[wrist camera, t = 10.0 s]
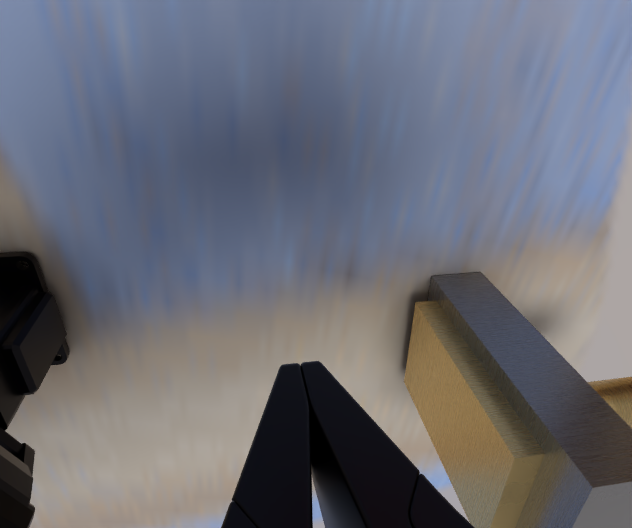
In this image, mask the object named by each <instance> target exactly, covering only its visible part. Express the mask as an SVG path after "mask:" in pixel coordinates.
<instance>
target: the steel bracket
mask: <svg viewBox="0 0 632 528" xmlns="http://www.w3.org/2000/svg"><path fill="white" fill-rule="evenodd" d="M435 300H436V301H437V302H438V304H439V305H440V307H441V308H442V309H443V311H444V312H445V314H446V315H447V316H448V318H449V319H450V321H451V322H452V323H453V325H454V326H455V328H456V329H457V331H458V332H459V333H460V335H461V336H462V338H463V339H464V340H465V342H466V343H467V345H468V346H469V347H470V349H471V350H472V352H473V353H474V354H475V356H476V357H477V359H478V360H479V361H480V363H481V364H482V366H483V367H484V368H485V370H486V371H487V373H488V374H489V376H490V377H491V378H492V380H493V381H494V383H495V384H496V385H497V387H498V388H499V390H500V391H501V392H502V394H503V395H504V397H505V398H506V399H507V401H508V402H509V404H510V405H511V406H512V408H513V409H514V411H515V412H516V413H517V415H518V416H519V418H520V419H521V420H522V422H523V423H524V425H525V426H526V428H527V429H528V430H529V432H530V433H531V435H532V436H533V437H534V439H535V440H536V442H537V443H538V444H539V446H540V447H541V449H542V450H543V451H544V453H545V456H544V458H543V461H542V463H541V466H540V468H539V470H538V473H537V475H536V478H535V480H534V483H533V485H532V488H531V490H530V493H529V495H528V497H527V500H526V502H525V505H524V507H523V510H522V512H521V515H520V517H519V520H518V522H517V525H516V527H515V528H632V428H631V427H630V426H629V425H628V424H627V423H626V422H625V421H624V420H623V419H622V418H621V417H620V416H619V415H618V414H617V413H616V412H615V411H614V410H613V409H612V408H611V406H610V405H609V404H608V403H607V402H606V401H605V400H604V399H603V398H602V397H601V396H600V395H599V394H598V393H597V392H596V391H595V390H594V389H593V388H592V387H591V386H590V385H589V384H588V383H587V382H586V381H585V380H584V379H583V377H582V376H581V375H580V374H579V373H578V372H577V371H576V370H575V369H574V368H573V367H572V366H571V365H570V364H569V363H568V362H567V361H566V360H565V359H564V358H563V357H562V356H561V355H560V354H559V353H558V352H557V351H556V350H555V348H554V347H553V346H552V345H551V344H550V343H549V342H548V341H547V340H546V339H545V338H544V337H543V336H542V335H541V334H540V333H539V332H538V331H537V330H536V329H535V328H534V327H533V326H532V325H531V324H530V323H529V322H528V320H527V319H526V318H525V317H524V316H523V315H522V314H521V313H520V312H519V311H518V310H517V309H516V308H515V307H514V306H513V305H512V304H511V303H510V302H509V301H508V300H507V299H506V298H505V297H504V296H503V295H502V294H501V293H500V291H499V290H498V289H497V288H496V287H495V286H494V285H493V284H492V283H491V282H490V281H489V280H488V279H487V278H486V277H485V276H484V275H483V274H482V273H481V272H475V273H462V274H450V275H438V276H432V277H431V283H430V289H429V295H428V301H435Z"/></svg>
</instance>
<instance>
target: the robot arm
mask: <svg viewBox="0 0 632 528" xmlns="http://www.w3.org/2000/svg"><path fill="white" fill-rule="evenodd" d="M20 261H24V262H26V263H27V264H28V266H24V265H22V264H21V263H20ZM66 335H67V333H66V330H65V327H64V324H63V321H62V318H61V315H60V313H59V310H58V307H57V304H56V301H55V298H54V296H53V295H52V294H51V293H50V292H48V289H47V287H46V284H45V281H44V278H43V275H42V272H41V269H40V267H39V264H38V261H37V259H36V258H35V257H34V256H33V255H32V254H30V253H27V252H14V253H0V528H29V527H30V524H31V522H32V520H33V517H34V512H35V507H34V506H33V505H32V504H30V499H31V491H32V483H33V477H32V474H33V464H34V454H35V451H34V450H33V449H32V448H31V447H30V446H28V445H27V444H26V443H23V444H21V443H20V442H18V441H17V440H16V439H15V438H13V437H12V436H11V435H9V434H8V433H7V432H5V430H6V429H7V428H8V426H9V424H10V422H11V421H12V419H13V417H14V415H15V413H16V412H17V410H18V408H19V406H20V404H21V403H22V401H23V399H24V397H25V395H31V394H34V393H35V392H36V391H37V390H38V389H39V387H40V385H41V383H42V381H43V379H44V377H45V375H46V373H47V371H48V370H49V368H50V366H51V365H59V364H63V363H64V362H66V360H67V358H68V356H69V349H68V346H67V343H66V341H65V337H66ZM56 354H60V355H61V356H57V355H56ZM311 473H312V476H311ZM419 473H420V472H419V470H418V469H417V468H416V467H415V466H414V464H413V463H412V462H411V461H410V460H409V459H408V458H407V457H406V456H405V455H404V453H403V452H402V451H401V450H400V449H399V448H398V447H397V446H396V445H395V444H394V442H393V441H392V440H391V439H390V438H389V437H388V436H387V435H386V434H385V433H384V431H383V430H382V429H381V428H380V427H379V426H378V425H377V424H376V423H375V422H374V420H373V419H372V418H371V417H370V416H369V415H368V414H367V413H366V412H365V411H364V410H363V408H362V407H361V406H360V405H359V404H358V403H357V402H356V401H355V400H354V399H353V397H352V396H351V395H350V394H349V393H348V392H347V391H346V390H345V389H344V388H343V386H342V385H341V384H340V383H339V382H338V381H337V380H336V379H335V378H334V377H333V375H332V374H331V373H330V372H329V371H328V370H327V369H326V368H325V367H324V366H323V364H322V363H321V362H319V361H313V362H303V363H302V364H301V365H299V364H298V363H293V364H284V365H281V367H280V368H279V371H278V374H277V377H276V379H275V382H274V385H273V388H272V390H271V393H270V396H269V399H268V401H267V404H266V407H265V410H264V412H263V415H262V418H261V421H260V423H259V426H258V429H257V432H256V434H255V437H254V440H253V443H252V445H251V448H250V451H249V454H248V456H247V459H246V462H245V465H244V467H243V470H242V473H241V476H240V478H239V481H238V484H237V487H236V489H235V492H234V495H233V498H232V502H231V503H230V505H229V508H228V511H227V513H226V516H225V519H224V522H223V524H222V527H221V528H313V523H312V478H313V482H314V486H315V490H316V493H317V497H318V501H319V505H320V509H321V513H322V517H323V521H324V524H325V528H475V527H474V526H473V525H471V524H470V523H469V522H468V521H467V520H466V519H465V518H464V517H463V516H462V515H461V514H459V512H458V511H456V509H455V508H454V507H453V506H452V505H451V504H450V503H449V502H448V501H447V500H446V499H445V498H444V497H443V496H442V495H441V494H440V493H439V492H438V491H437V490H436V489H435V487H434V486H433V485H432V484H431V483H430V482H429V481H428V480H427V479H426V477H425V476H424V475H423V474H420V475H419Z"/></svg>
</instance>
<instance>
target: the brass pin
mask: <svg viewBox="0 0 632 528" xmlns="http://www.w3.org/2000/svg"><path fill="white" fill-rule="evenodd" d="M404 382H405V385H406V387H407V389H408V391H409V393H410V395H411V397H412V400H413V402H414V404H415V406H416V408H417V410H418V413H419V415H420V417H421V419H422V421H423V423H424V425H425V428H426V430H427V432H428V434H429V436H430V438H431V440H432V443H433V445H434V447H435V449H436V451H437V453H438V455H439V458H440V460H441V462H442V464H443V466H444V468H445V471H446V473H447V475H448V477H449V479H450V481H451V483H452V486H453V488H454V490H455V492H456V494H457V496H458V498H459V501H460V503H461V505H462V507H463V509H464V511H465V513H466V516H467V517H468V520H469V522H470V524H471V525H473V526H474V527H475V528H515V527H516V525H517V522H518V520H519V517H520V515H521V512H522V510H523V507H524V505H525V502H526V500H527V497H528V495H529V493H530V490H531V488H532V485H533V483H534V480H535V478H536V475H537V473H538V470H539V468H540V466H541V463H542V461H543V458H544V456H545V453H544V451H543V450H542V449H541V447H540V446H539V444H538V443H537V442H536V440H535V439H534V437H533V436H532V435H531V433H530V432H529V430H528V429H527V428H526V426H525V425H524V423H523V422H522V420H521V419H520V418H519V416H518V415H517V413H516V412H515V411H514V409H513V408H512V406H511V405H510V404H509V402H508V401H507V399H506V398H505V397H504V395H503V394H502V392H501V391H500V390H499V388H498V387H497V385H496V384H495V383H494V381H493V380H492V378H491V377H490V376H489V374H488V373H487V371H486V370H485V368H484V367H483V366H482V364H481V363H480V361H479V360H478V359H477V357H476V356H475V354H474V353H473V352H472V350H471V349H470V347H469V346H468V345H467V343H466V342H465V340H464V339H463V338H462V336H461V335H460V333H459V332H458V331H457V329H456V328H455V326H454V325H453V323H452V322H451V321H450V319H449V318H448V316H447V315H446V314H445V312H444V311H443V309H442V308H441V307H440V305H439V304H438V302H437V301H436V300H435V301H424V302H416V303H415V310H414V317H413V324H412V331H411V338H410V345H409V351H408V358H407V365H406V372H405V379H404ZM587 383H588V384H589V385H590V386H591V387H592V388H593V389H594V390H595V391H596V392H597V393H598V394H599V395H600V396H601V397H602V398H603V399H604V400H605V401H606V402H607V403H608V404H609V405H610V406H611V408H612V409H613V410H614V411H615V412H616V413H617V414H618V415H619V416H620V417H621V418H622V419H623V420H624V421H625V422H626V423H627V424H628V425H629V426H630V427H631V428H632V377H626V378H618V379H610V380H602V381H594V382H587Z"/></svg>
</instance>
